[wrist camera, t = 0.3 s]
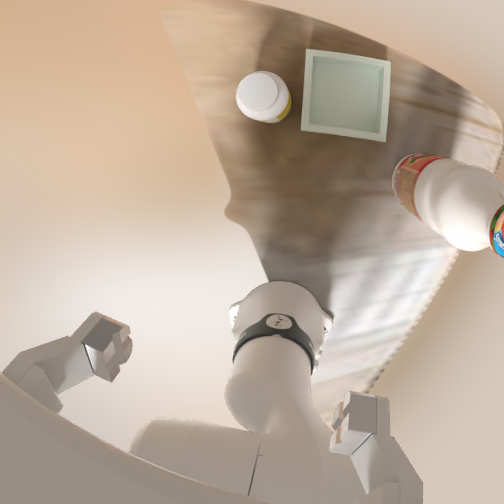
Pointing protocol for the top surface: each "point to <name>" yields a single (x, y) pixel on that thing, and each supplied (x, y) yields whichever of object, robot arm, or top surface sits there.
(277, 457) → the robot arm
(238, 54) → the top surface
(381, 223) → the top surface
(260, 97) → the supplement bottle
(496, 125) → the top surface
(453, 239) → the fruit juice
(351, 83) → the sage tray
